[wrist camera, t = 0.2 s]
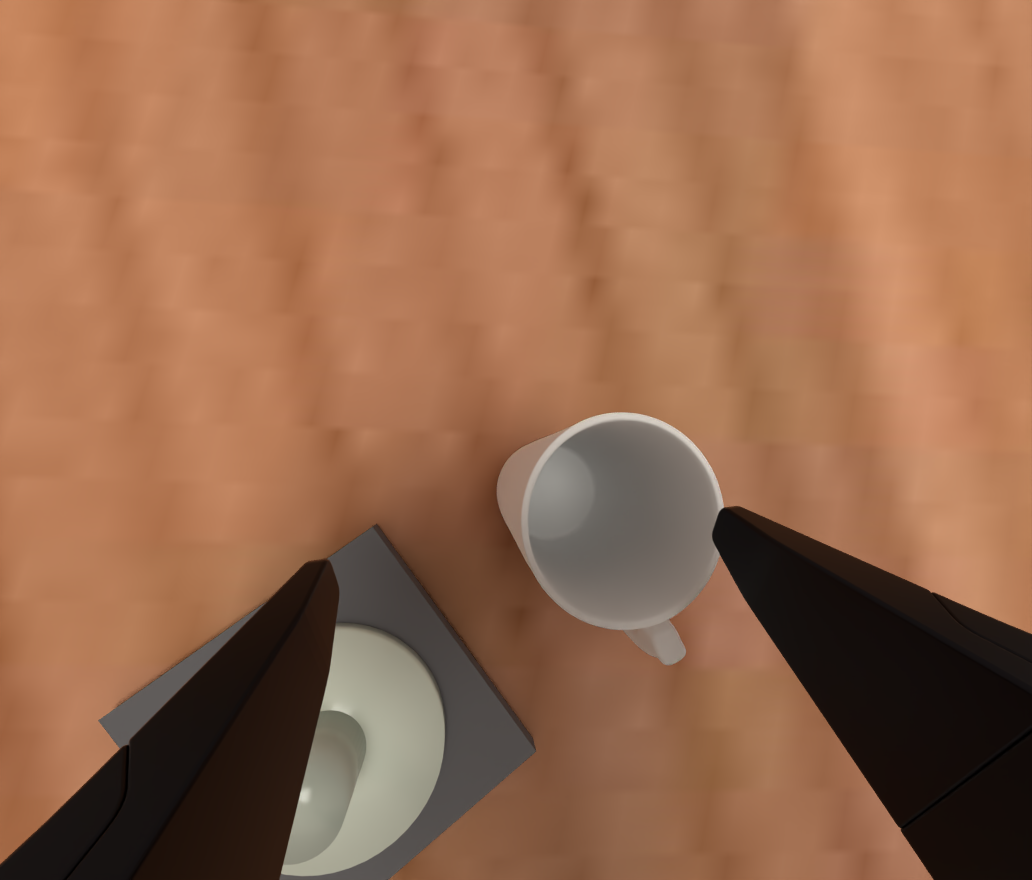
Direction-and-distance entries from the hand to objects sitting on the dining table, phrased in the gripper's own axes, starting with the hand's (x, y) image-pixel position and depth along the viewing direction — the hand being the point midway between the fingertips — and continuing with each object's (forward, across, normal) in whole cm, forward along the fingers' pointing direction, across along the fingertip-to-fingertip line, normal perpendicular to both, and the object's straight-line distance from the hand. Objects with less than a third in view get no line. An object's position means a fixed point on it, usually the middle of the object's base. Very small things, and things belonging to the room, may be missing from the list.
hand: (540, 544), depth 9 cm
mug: (+12, -4, +9) cm, 16 cm away
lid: (+6, +10, +18) cm, 21 cm away
